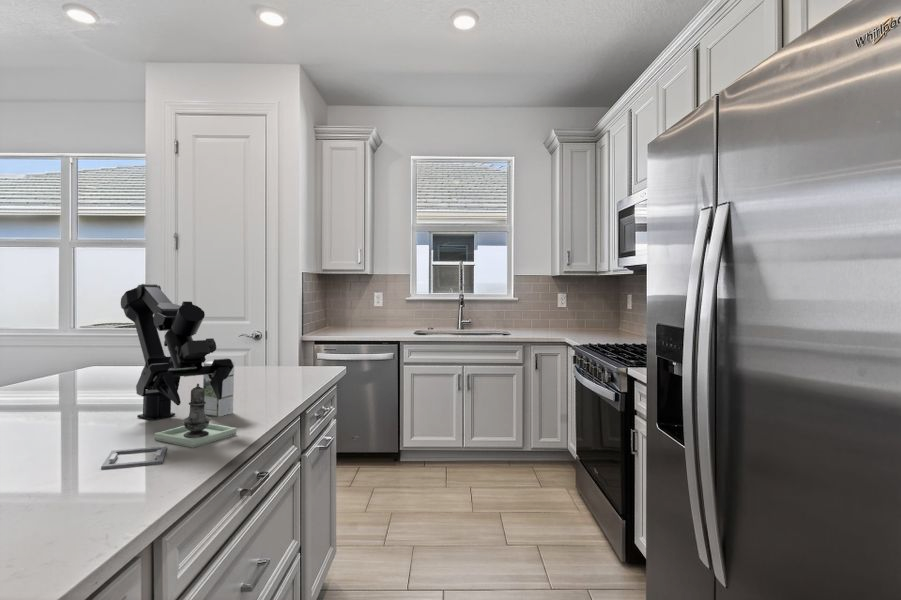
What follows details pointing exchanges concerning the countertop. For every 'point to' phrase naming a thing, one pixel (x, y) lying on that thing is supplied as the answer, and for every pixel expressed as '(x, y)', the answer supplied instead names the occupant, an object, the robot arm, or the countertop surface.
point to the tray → (178, 438)
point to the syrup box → (212, 402)
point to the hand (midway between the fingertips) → (200, 401)
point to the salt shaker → (196, 415)
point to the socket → (114, 454)
